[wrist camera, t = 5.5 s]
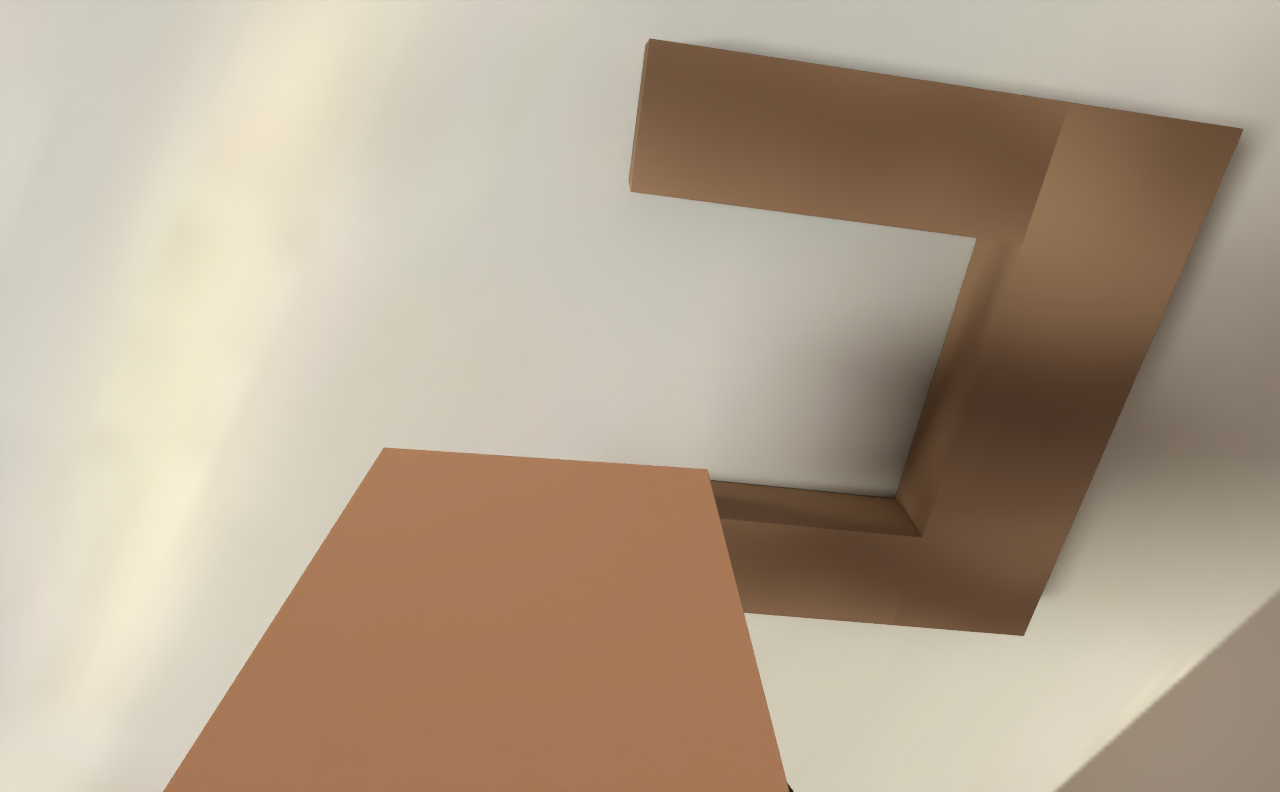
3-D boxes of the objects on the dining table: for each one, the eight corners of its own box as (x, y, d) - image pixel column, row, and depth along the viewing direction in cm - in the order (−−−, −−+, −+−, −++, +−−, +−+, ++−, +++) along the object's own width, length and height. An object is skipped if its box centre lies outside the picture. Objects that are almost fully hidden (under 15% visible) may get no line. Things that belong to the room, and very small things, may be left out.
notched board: (990, 591, 22) (1023, 635, 21) (582, 555, 21) (580, 599, 20) (1175, 125, 17) (1243, 129, 15) (645, 45, 16) (649, 38, 14)
